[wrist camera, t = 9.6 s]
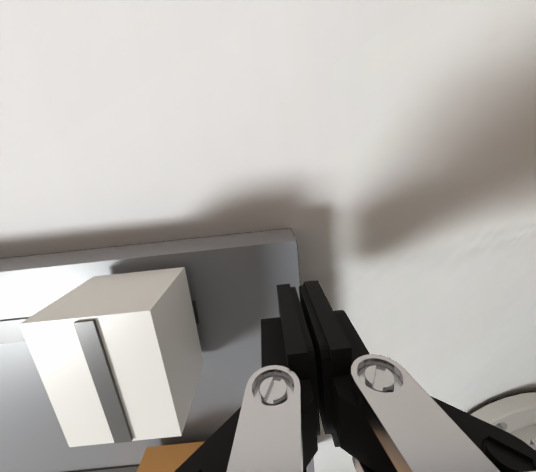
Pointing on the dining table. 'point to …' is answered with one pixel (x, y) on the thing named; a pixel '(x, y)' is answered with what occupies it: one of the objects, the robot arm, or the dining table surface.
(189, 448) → the orange fader
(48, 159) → the dining table surface
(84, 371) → the block
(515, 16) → the dining table surface
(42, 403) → the console
